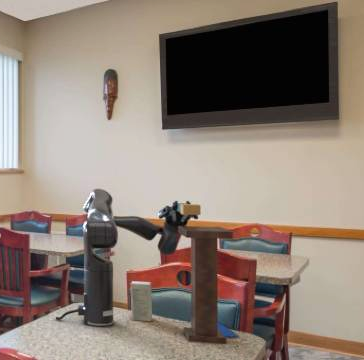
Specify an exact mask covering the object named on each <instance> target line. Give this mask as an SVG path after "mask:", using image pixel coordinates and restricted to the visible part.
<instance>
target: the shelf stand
mask: <svg viewBox="0 0 364 360" xmlns="http://www.w3.org/2000/svg"><path fill="white" fill-rule="evenodd" d="M178 233H180V234H181V235H182V236H183V237H185V238H186V239H190V327H187V326H186V327H185V326H184V327H183V328H182V329H183V330H182V331H183V332H182V333H183V334H184V336H185V338H186V339H187V340H188V342H200V343H214V344H215V343H216V344H227V337H225V336H224V335H223V334H222V332H221V331H220V330H219V329H218V322H219V321H218V320H219V315H218V314H219V313H218V311H219V309H218V308H219V307H218V305H219V302H218V301H219V300H218V299H219V298H218V293H219V291H218V287H219V285H218V281H219V280H218V275H219V274H218V269H219V268H218V261H219V259H218V255H219V254H218V250H219V249H218V242H219V241H218V239H221V240H222V239H223V240H227V239H228V240H233V239H234V232H233V230H230V229H227V228H224V227H221V226H201V225H200V226H197V225H196V226H195V225H194V226H193V225H186V226H178Z"/></svg>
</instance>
